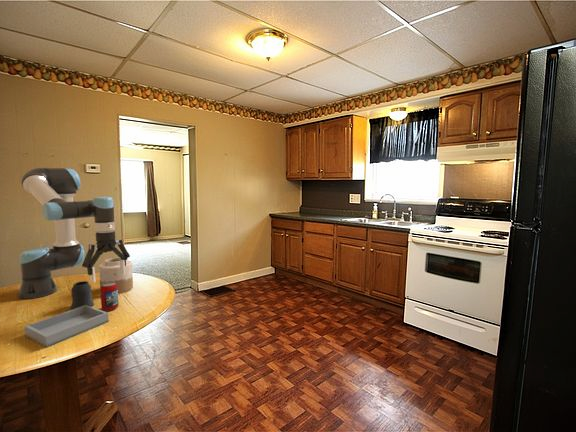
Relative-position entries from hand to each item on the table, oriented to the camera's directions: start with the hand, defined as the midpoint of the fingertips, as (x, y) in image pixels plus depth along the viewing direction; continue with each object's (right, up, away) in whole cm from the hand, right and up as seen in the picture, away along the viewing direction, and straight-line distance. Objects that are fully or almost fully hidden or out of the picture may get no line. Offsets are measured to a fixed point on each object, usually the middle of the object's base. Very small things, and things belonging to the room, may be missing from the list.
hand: (108, 277), depth 135 cm
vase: (-11, -12, +25) cm, 30 cm away
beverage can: (0, -15, +2) cm, 15 cm away
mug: (-16, -14, +5) cm, 22 cm away
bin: (-6, -17, -17) cm, 24 cm away
